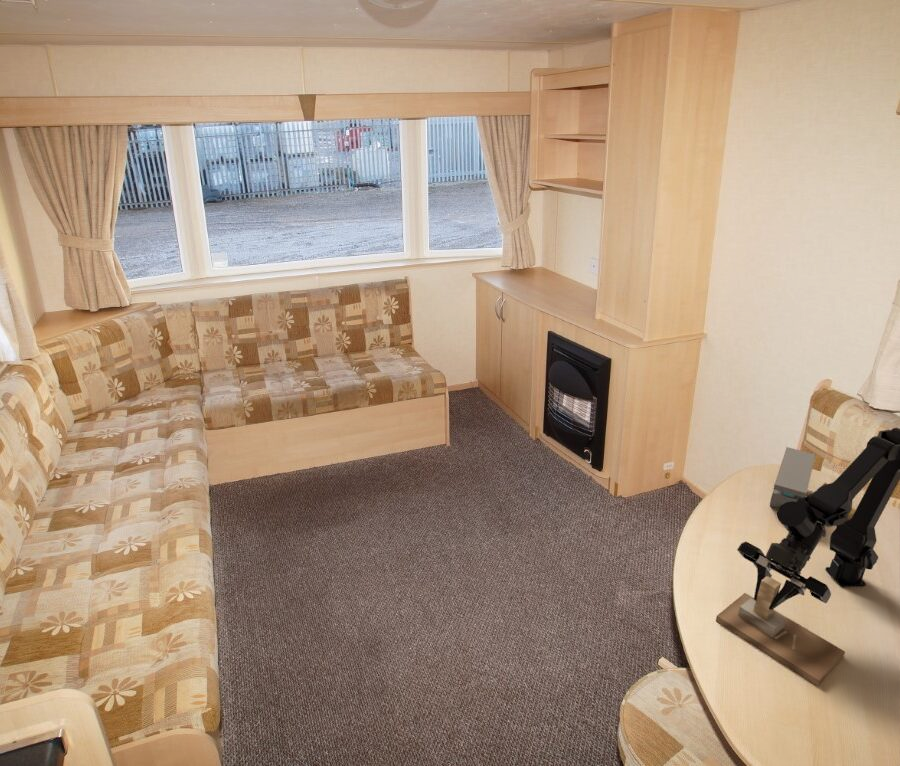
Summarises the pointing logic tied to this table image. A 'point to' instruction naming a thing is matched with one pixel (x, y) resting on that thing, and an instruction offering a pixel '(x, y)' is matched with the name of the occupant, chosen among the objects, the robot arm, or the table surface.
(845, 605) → the table surface
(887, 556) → the table surface
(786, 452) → the grey rectangular box
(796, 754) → the table surface
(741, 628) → the walnut board
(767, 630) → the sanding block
